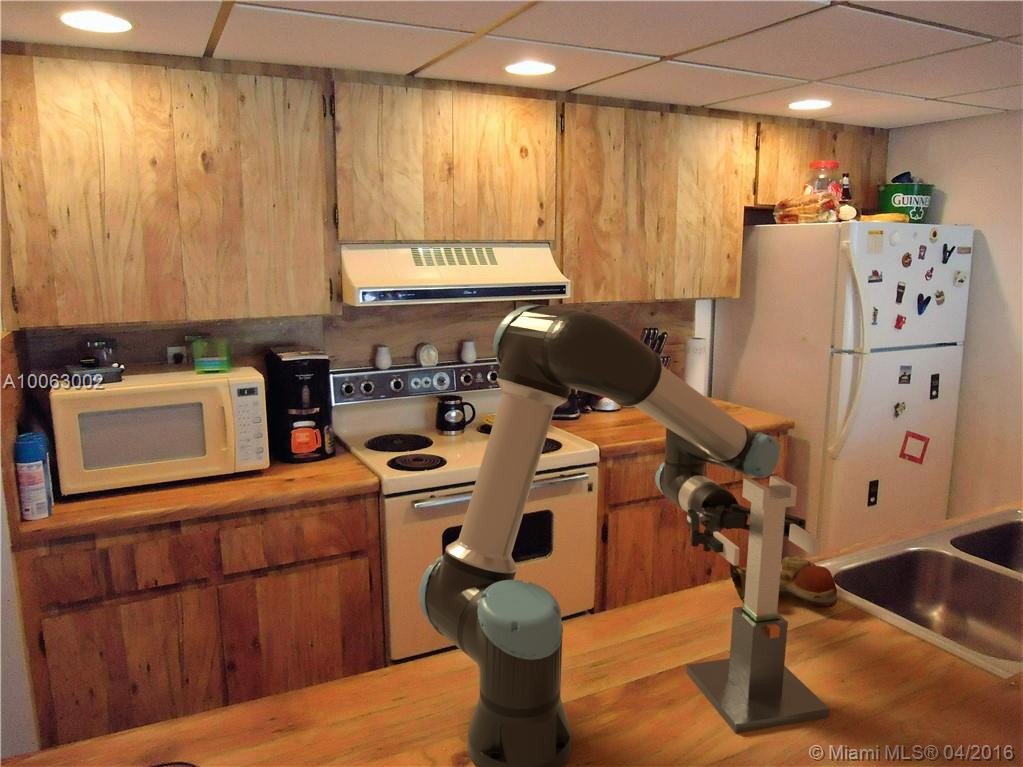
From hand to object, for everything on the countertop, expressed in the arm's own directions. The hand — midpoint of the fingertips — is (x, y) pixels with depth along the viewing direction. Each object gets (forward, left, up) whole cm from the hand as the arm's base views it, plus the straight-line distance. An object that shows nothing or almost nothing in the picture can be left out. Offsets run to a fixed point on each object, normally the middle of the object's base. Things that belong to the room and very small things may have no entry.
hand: (777, 552), depth 112 cm
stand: (0, +3, -26) cm, 26 cm away
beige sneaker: (+23, +30, -26) cm, 46 cm away
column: (0, +3, -18) cm, 18 cm away
